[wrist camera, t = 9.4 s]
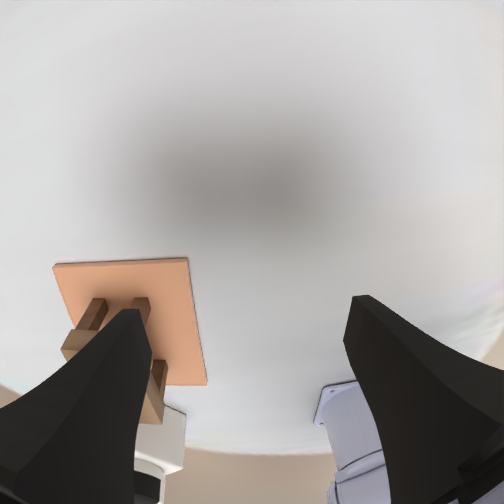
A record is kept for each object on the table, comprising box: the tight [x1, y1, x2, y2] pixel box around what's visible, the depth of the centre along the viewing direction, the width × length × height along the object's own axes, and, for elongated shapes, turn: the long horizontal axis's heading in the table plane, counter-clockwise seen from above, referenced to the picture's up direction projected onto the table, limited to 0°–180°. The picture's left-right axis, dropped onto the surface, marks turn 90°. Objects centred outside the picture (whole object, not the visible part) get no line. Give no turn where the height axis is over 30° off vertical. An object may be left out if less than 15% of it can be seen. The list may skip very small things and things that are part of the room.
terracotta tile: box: [52, 258, 207, 386], centre depth 22 cm, size 11×13×1 cm
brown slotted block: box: [61, 297, 168, 425], centre depth 19 cm, size 5×8×6 cm, turn 1°
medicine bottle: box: [134, 406, 186, 504], centre depth 22 cm, size 7×7×12 cm
